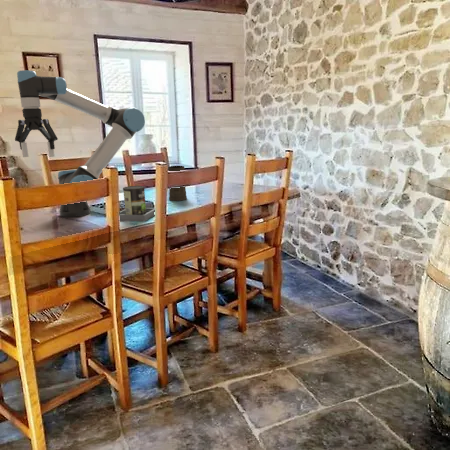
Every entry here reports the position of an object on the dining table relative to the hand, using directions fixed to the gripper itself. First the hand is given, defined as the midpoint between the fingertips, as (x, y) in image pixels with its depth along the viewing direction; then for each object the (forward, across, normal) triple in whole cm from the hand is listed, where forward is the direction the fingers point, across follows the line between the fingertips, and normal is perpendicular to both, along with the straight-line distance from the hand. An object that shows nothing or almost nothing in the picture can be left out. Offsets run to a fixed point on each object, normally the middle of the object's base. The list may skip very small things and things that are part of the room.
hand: (38, 156), depth 178 cm
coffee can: (+31, -36, -19) cm, 51 cm away
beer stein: (+32, -42, -65) cm, 84 cm away
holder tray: (+32, -36, -19) cm, 52 cm away
